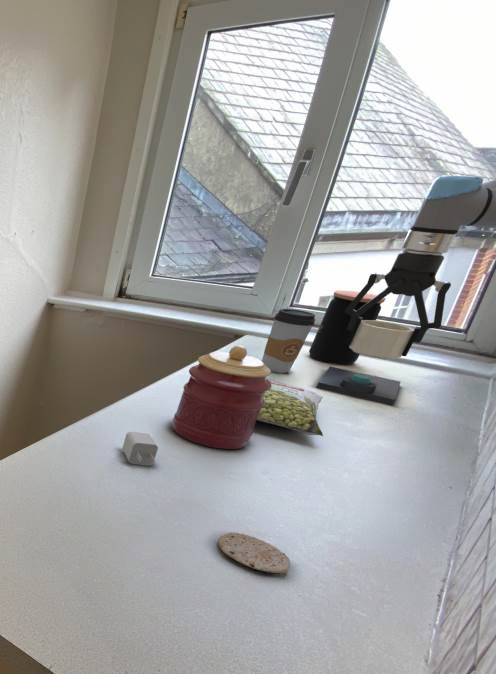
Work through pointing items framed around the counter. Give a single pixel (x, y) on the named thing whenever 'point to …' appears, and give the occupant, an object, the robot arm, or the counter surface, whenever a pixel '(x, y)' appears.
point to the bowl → (381, 339)
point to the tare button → (361, 379)
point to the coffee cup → (287, 339)
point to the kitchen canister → (222, 399)
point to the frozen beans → (291, 408)
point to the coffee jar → (340, 328)
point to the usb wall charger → (140, 448)
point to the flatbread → (254, 553)
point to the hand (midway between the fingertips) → (375, 349)
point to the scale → (360, 386)
